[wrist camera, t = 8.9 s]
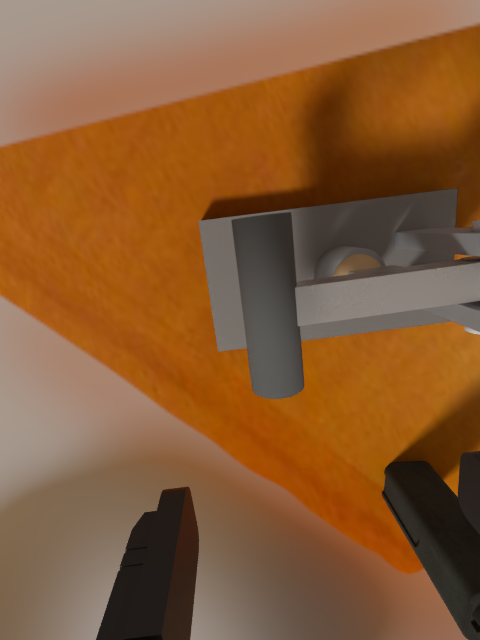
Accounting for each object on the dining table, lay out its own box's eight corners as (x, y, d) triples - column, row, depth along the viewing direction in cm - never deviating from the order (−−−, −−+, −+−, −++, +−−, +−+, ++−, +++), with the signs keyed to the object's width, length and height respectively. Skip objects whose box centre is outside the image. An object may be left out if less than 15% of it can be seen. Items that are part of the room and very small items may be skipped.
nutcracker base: (441, 191, 27) (599, 161, 16) (435, 315, 30) (565, 368, 19) (200, 221, 27) (180, 214, 16) (218, 343, 30) (213, 414, 19)
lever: (487, 188, 20) (547, 179, 16) (475, 341, 22) (524, 362, 19) (229, 221, 19) (232, 218, 16) (248, 374, 22) (255, 402, 18)
